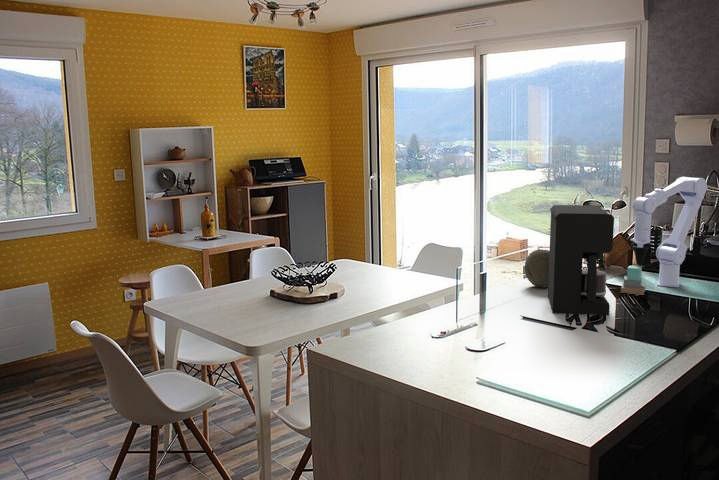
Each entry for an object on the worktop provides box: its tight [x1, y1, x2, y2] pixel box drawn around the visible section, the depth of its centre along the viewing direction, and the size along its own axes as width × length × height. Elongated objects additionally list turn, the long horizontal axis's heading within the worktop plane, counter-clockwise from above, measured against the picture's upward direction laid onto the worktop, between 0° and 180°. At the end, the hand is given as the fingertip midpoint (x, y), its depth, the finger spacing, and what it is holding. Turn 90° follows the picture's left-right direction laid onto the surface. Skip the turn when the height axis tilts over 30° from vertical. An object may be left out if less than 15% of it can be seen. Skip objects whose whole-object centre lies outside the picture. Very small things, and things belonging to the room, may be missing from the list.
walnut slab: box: [620, 282, 646, 296], centre depth 261 cm, size 8×8×3 cm
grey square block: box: [623, 275, 642, 288], centre depth 262 cm, size 6×6×3 cm
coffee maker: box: [547, 204, 615, 316], centre depth 239 cm, size 28×20×35 cm
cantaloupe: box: [524, 249, 550, 289], centre depth 271 cm, size 14×14×15 cm
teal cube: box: [626, 265, 643, 281], centre depth 260 cm, size 4×4×4 cm
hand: (640, 262), depth 265 cm, fingers open, 7 cm apart
